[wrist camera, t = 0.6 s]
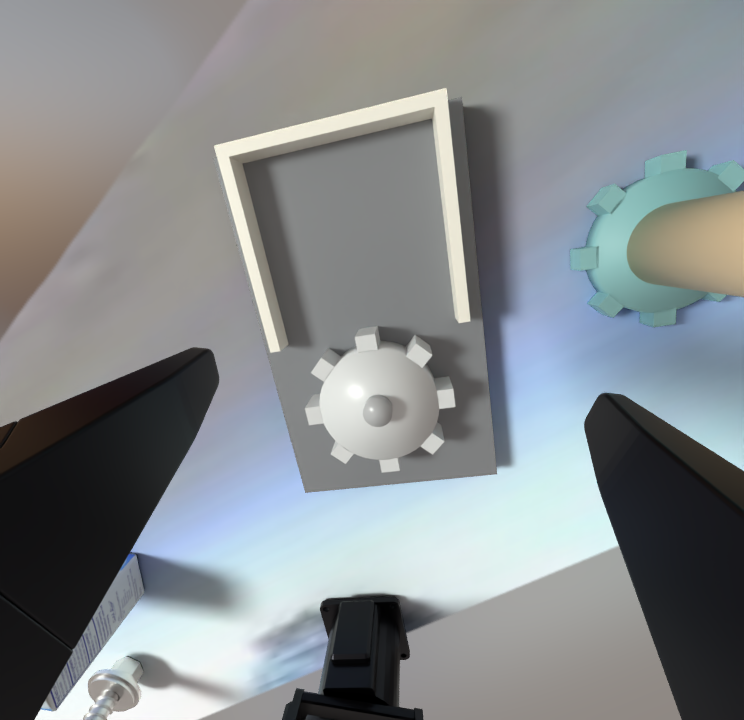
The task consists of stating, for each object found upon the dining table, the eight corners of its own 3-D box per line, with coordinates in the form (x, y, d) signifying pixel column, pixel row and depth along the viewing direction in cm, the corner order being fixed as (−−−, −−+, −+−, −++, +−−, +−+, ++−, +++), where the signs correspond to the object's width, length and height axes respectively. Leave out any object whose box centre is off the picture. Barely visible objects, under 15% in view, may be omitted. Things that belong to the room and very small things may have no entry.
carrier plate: (492, 463, 24) (509, 503, 20) (309, 481, 26) (293, 522, 22) (458, 106, 18) (472, 68, 14) (223, 162, 20) (181, 142, 16)
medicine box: (139, 552, 30) (36, 669, 21) (147, 592, 31) (53, 717, 23) (51, 541, 30) (-82, 651, 22) (62, 581, 31) (-60, 699, 23)
